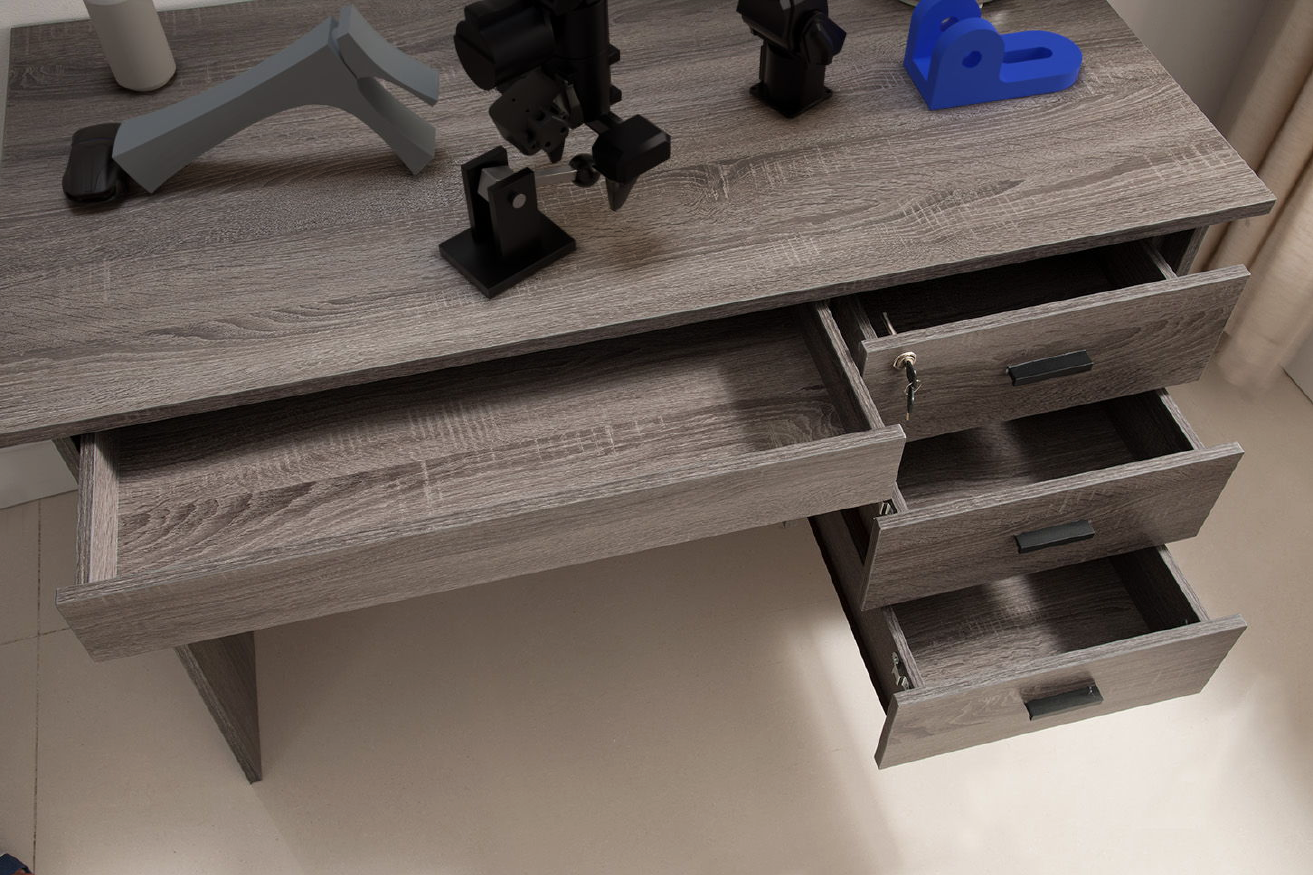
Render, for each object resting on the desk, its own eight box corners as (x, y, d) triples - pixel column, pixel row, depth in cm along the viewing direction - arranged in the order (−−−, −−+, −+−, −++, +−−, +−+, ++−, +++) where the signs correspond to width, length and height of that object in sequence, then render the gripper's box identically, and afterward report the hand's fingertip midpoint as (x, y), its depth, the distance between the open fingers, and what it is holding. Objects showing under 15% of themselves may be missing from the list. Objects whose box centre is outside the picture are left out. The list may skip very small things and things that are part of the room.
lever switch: (525, 207, 119) (515, 124, 111) (576, 250, 115) (570, 166, 107) (439, 254, 115) (423, 170, 107) (489, 299, 111) (476, 216, 103)
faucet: (230, 268, 128) (474, 153, 119) (109, 157, 116) (371, 19, 107) (238, 229, 132) (475, 114, 123) (121, 116, 120) (375, -19, 111)
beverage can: (124, 101, 130) (82, -1, 121) (111, 70, 134) (69, -32, 124) (184, 84, 132) (147, -18, 123) (170, 54, 135) (133, -48, 126)
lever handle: (582, 175, 118) (590, 145, 116) (603, 191, 116) (611, 161, 115) (473, 193, 110) (478, 161, 108) (494, 211, 108) (500, 179, 106)
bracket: (930, 110, 128) (945, 34, 121) (902, 64, 133) (916, -11, 126) (1090, 86, 130) (1114, 10, 123) (1057, 42, 136) (1078, -33, 129)
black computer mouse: (140, 134, 127) (128, 103, 124) (127, 210, 119) (113, 179, 116) (83, 140, 126) (69, 109, 123) (66, 217, 119) (50, 186, 116)
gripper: (435, 29, 106) (459, 173, 118) (569, 130, 97) (580, 275, 109) (538, -18, 110) (551, 126, 122) (675, 75, 101) (674, 220, 113)
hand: (585, 185), depth 117 cm, fingers open, 9 cm apart
